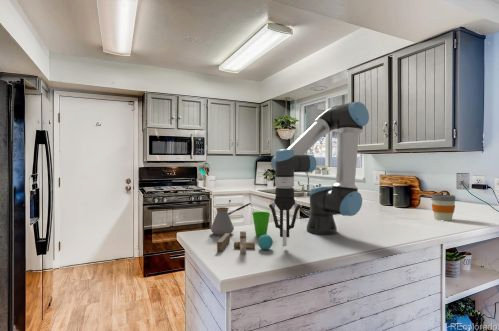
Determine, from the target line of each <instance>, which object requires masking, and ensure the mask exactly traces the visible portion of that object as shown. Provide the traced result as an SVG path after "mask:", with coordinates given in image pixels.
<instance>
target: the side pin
mask: <svg viewBox="0 0 499 331" xmlns="http://www.w3.org/2000/svg"><path fill="white" fill-rule="evenodd" d="M239 242H240V248H239V254H240V255H246V254H247V248H246V242H247V231H246V230H241V231H239Z"/></svg>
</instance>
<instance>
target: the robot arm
mask: <svg viewBox="0 0 499 331" xmlns="http://www.w3.org/2000/svg"><path fill="white" fill-rule="evenodd" d="M369 121H370V114H369V110H368V108H367V106H366V105H365V104H364V103H363V102H360V101H354V102H353V101H352V102H350V103H349V102H348V103H344V104H340V105H335V106H331V107H330V108H328V109H326V110H325V111H324V112H322V113H321V114H320V115H318V116H317V117H316V119H314V120H313V123H312V125H311V126H310V127H309V128H308V129H307V130H306V131H304V132H303V133H302V134H301V135H300V136H299V137H297V139H296V140H294V142H292V144H290V146H288V148H286V149H285V148H283V149H277V150H276V151H275V155H274V156H273V157H272V159H271V161H270V165H271V168H272V169H273V170H274V172H275V183H274V184H275V187H276V188H275V191H274V193H275V198H274V200H273V202H271V203H269V205H268V207H269V209H270V210H271V214H272V217H273V221H274V222H273V223H274V226H275V228H277V229H279V236H280V238H282V247H287V245H288V244H287V242H288V240H287V238H290V230H291V229H294V228H295V224H296V220H297V216H298V212H299V210H300V208H301V204H299V203H297V202H296V199H295V188H294V186H295V173H312V172H314V171H315V170H316V168H317V165H318V163H317V162H318V161H317V159H316V156H314V155H312V154H307V152H308V151H309V150H310V149H311V148H312V147H313V146H314V145H315V144H316V143H317V142H318V141H319V140H320V139H321V138H322V137H324V135H328V134H329V133H330V132H332V131H335V130H337V132H338V134H339V141H338V142H339V143H338V152H337V153H338V154H337V165H336V175H335V182H334V184H331V185H332V186H319V187H318V186H317V187H312V188H310V190H309V219H308V221H307V224H306V232H308V233H311V234H315V235H324V236H325V235H335V234H337V231H338V229H337V225H336V222H335V218H334V214H335V215H340V216H343V217H344V216H345V217H346V216H347V217H353V216H356V215H357V214H358V212H360V210H361V208H362V205H363V197H362V194H361V193H360V192H359V190H358V189H359V188H358V187H357V185H356V171H357V162H358V160H357V158H358V148H359V135H360V134H361V133H363V128H364V127H365V126H367V124H368V123H369ZM275 207H277V209H278V210H279V220H278V216H277V212H276V209H275ZM293 207H294V210H293V216H292V219H291V223H290V210H291V209H292V208H293ZM284 211H285V212H286V216H285V221H286V222H285V225H286V227H285V228H284Z"/></svg>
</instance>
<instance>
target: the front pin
mask: <svg viewBox="0 0 499 331" xmlns="http://www.w3.org/2000/svg"><path fill="white" fill-rule="evenodd" d="M255 247H256V242H254V241H253V242H252V241H249V242H248V241H246V249H255ZM233 248H235V249H236V248H237V249H240V241H233Z"/></svg>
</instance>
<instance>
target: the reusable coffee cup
mask: <svg viewBox="0 0 499 331" xmlns="http://www.w3.org/2000/svg"><path fill="white" fill-rule="evenodd" d="M430 200H431V207H432V208H431V209H432V212H433V218H434V220H436V219H437V220H436V221H441V220H443V222H451V221H450V220H452V221H453V215H454V213H455V208H456V205H455V202H456V200H457V199H456V196H455V195H451V194H437V193H436V194H431V199H430Z"/></svg>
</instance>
